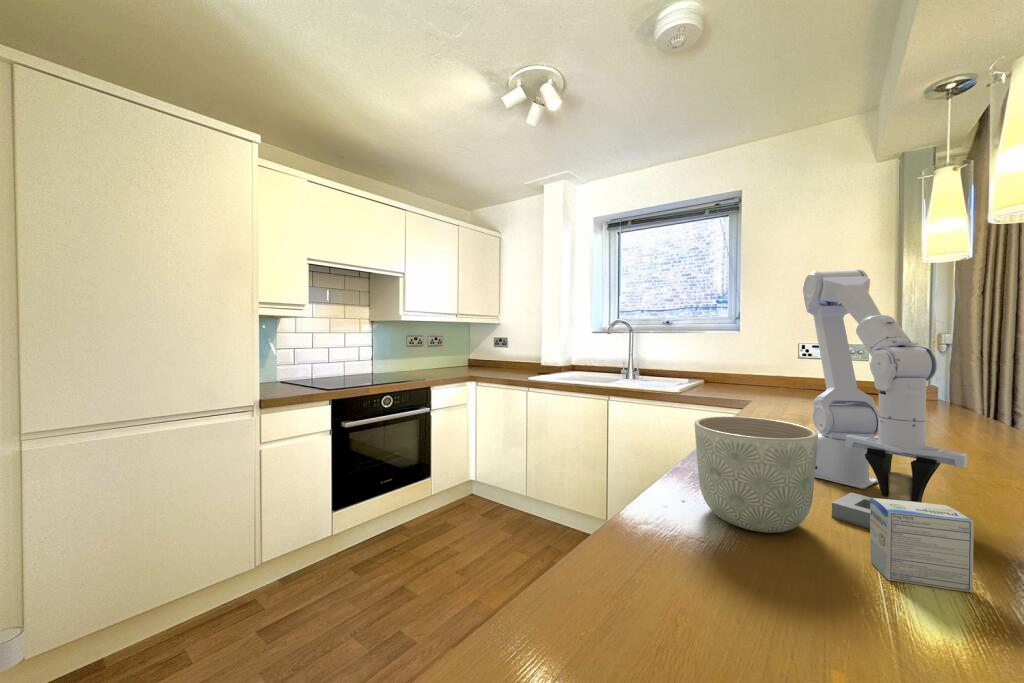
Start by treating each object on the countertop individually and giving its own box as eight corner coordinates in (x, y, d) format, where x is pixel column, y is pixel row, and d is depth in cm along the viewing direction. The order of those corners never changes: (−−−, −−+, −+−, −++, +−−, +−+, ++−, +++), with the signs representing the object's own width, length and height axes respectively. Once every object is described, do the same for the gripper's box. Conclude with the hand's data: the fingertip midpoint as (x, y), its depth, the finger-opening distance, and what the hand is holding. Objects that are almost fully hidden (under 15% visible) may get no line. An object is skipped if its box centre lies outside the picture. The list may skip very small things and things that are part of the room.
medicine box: (947, 573, 50) (947, 504, 50) (974, 595, 45) (975, 519, 45) (868, 562, 52) (868, 496, 52) (888, 581, 48) (888, 510, 48)
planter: (697, 492, 76) (697, 412, 76) (807, 510, 68) (807, 421, 68) (690, 530, 61) (690, 431, 61) (830, 559, 53) (830, 444, 53)
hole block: (831, 517, 65) (831, 502, 65) (850, 506, 69) (851, 492, 69) (907, 540, 58) (907, 524, 58) (923, 526, 62) (923, 511, 62)
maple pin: (885, 509, 67) (885, 474, 67) (891, 505, 69) (891, 470, 69) (911, 516, 65) (911, 479, 65) (917, 512, 66) (917, 476, 66)
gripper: (838, 413, 71) (838, 489, 71) (959, 429, 59) (959, 521, 59) (854, 409, 75) (853, 481, 75) (970, 423, 62) (970, 510, 62)
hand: (901, 498), depth 67 cm, fingers closed on maple pin, 3 cm apart
